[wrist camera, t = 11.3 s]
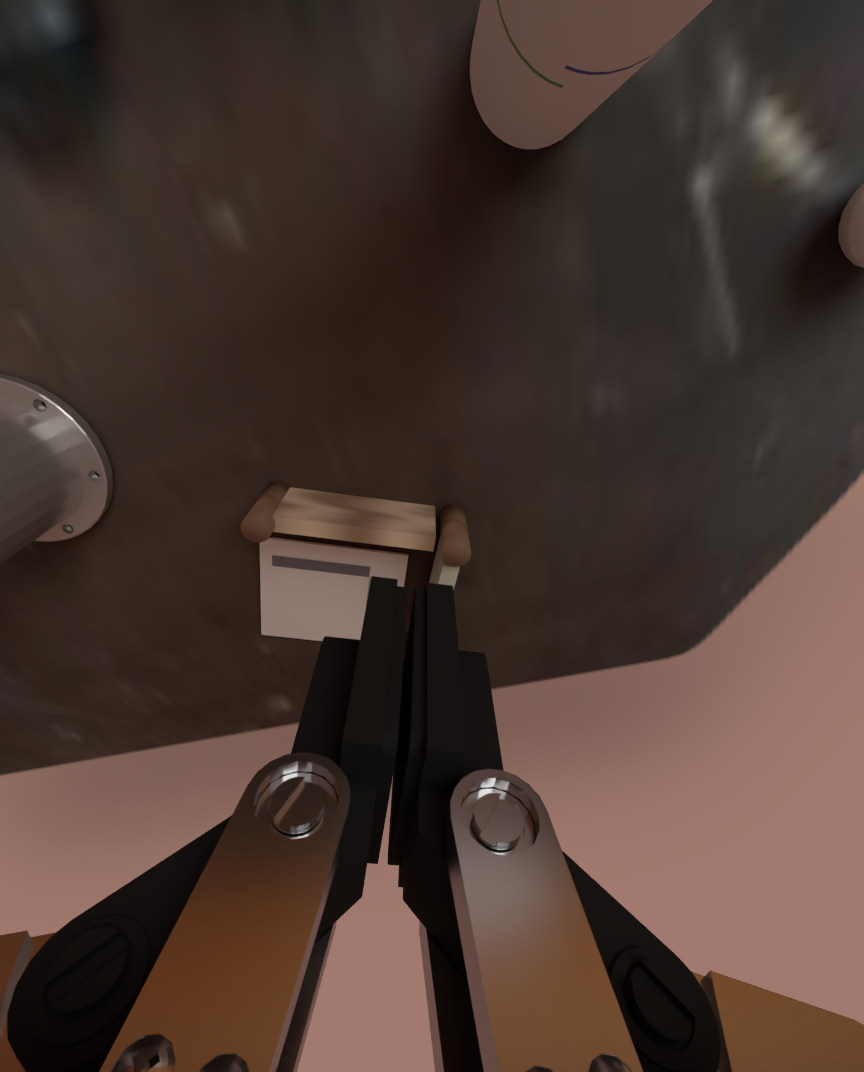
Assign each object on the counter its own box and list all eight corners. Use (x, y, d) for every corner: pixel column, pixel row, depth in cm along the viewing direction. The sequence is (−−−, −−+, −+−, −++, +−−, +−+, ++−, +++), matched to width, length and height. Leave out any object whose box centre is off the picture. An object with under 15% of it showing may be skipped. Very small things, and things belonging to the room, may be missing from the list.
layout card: (262, 632, 45) (261, 634, 44) (260, 535, 40) (259, 538, 40) (395, 646, 46) (394, 649, 45) (408, 553, 41) (408, 556, 41)
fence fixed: (266, 503, 39) (241, 540, 33) (266, 479, 38) (240, 514, 32) (462, 528, 40) (468, 568, 35) (467, 505, 39) (473, 543, 34)
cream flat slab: (437, 531, 40) (438, 564, 35) (459, 535, 40) (463, 568, 35) (409, 648, 45) (407, 690, 41) (428, 651, 46) (428, 693, 41)
